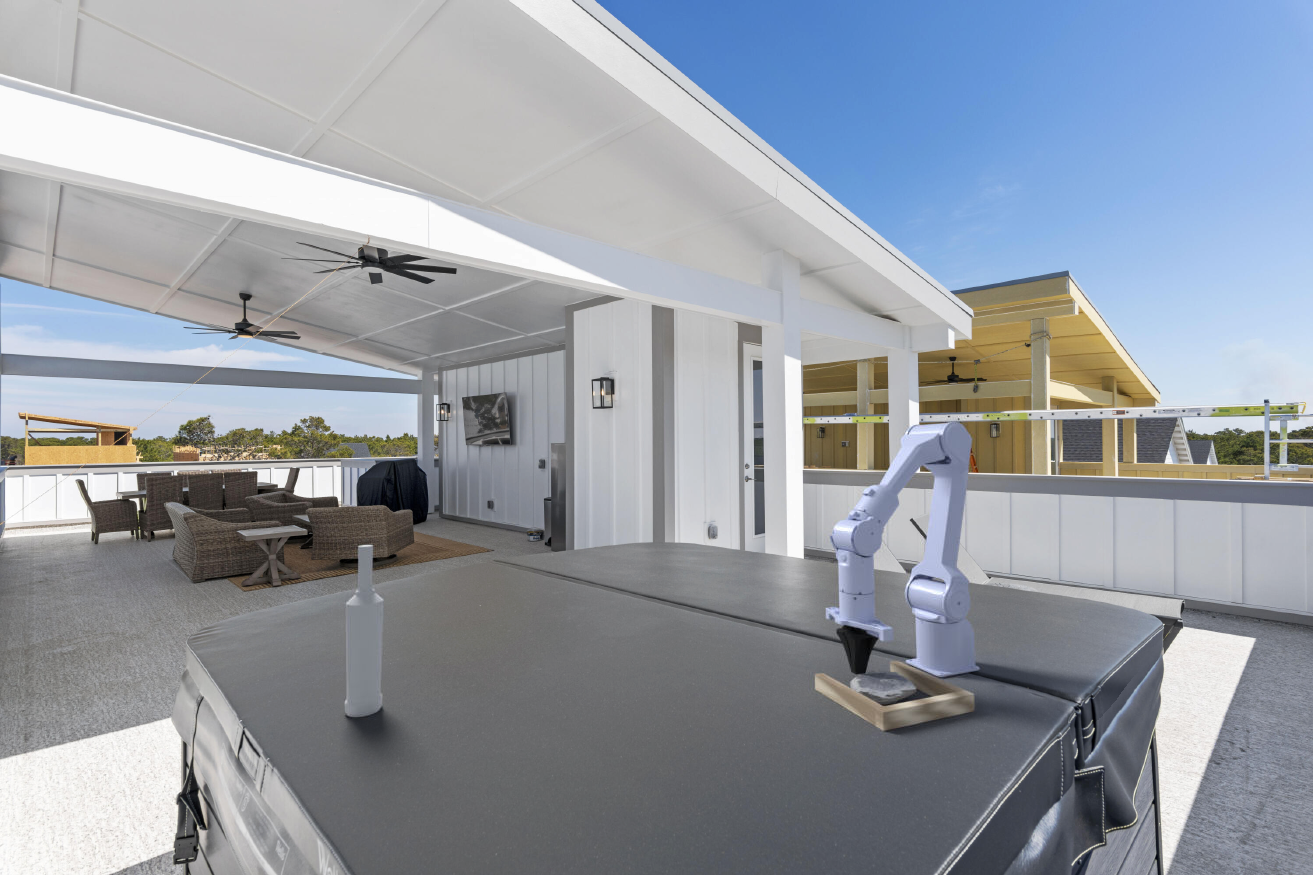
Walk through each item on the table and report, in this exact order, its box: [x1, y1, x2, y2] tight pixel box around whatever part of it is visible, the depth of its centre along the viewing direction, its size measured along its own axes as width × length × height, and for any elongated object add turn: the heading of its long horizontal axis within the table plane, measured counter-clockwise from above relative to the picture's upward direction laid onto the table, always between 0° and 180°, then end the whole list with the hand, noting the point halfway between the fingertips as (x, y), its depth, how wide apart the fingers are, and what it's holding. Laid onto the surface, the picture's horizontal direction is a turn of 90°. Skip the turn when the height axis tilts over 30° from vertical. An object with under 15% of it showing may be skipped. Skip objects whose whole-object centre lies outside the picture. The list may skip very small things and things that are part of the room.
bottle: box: [344, 544, 385, 718], centre depth 88 cm, size 5×5×25 cm
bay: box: [814, 660, 976, 732], centre depth 89 cm, size 17×16×2 cm
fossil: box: [849, 669, 918, 705], centre depth 91 cm, size 11×4×10 cm
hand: (858, 672), depth 96 cm, fingers closed
